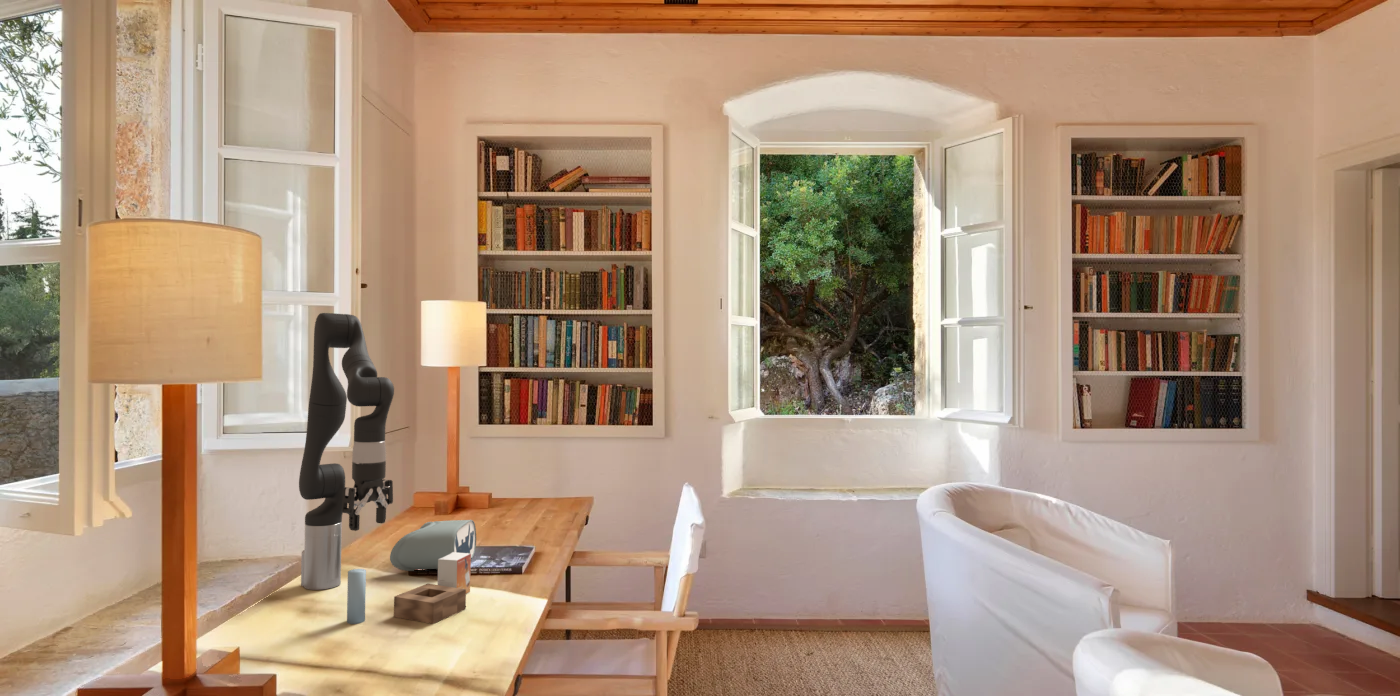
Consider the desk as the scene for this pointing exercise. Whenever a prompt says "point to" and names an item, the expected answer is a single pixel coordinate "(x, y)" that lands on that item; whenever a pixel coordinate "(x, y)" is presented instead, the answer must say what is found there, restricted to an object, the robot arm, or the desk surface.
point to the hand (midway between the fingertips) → (367, 526)
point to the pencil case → (433, 544)
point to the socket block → (429, 603)
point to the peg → (356, 596)
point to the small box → (455, 570)
